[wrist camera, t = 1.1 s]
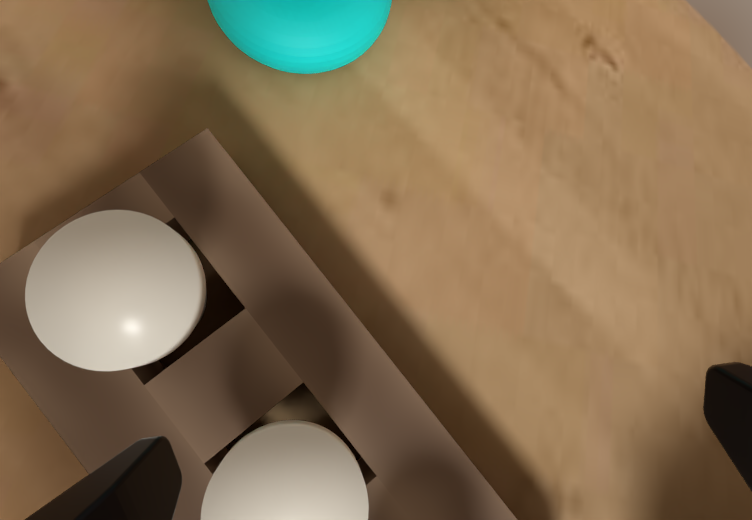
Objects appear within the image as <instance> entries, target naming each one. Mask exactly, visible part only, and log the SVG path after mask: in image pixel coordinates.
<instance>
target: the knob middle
mask: <svg viewBox="0 0 752 520" xmlns="http://www.w3.org/2000/svg"><path fill="white" fill-rule="evenodd" d="M368 511H369V504H368V494H367V489H366V484H365V481H364V479H363V476H362V473H361V470H360V467H359V465H358V462H357V460H356V458H355V456H354V455H353V453H352V452H351V450H350V449H349V447H348V446H347V445H346V444H345V443H344V442H343V440H342V439H340V438H339V437H338V436H337V435H336V434H335V433H333V432H331V431H330V430H328V429H327V428H325V427H322V426H320V425H318V424H315V423H312V422H308V421H302V420H283V421H277V422H273V423H269V424H266V425H264V426H261V427H259V428H257V429H255V430H253V431H252V432H250V433H248V434H247V435H246V436H244V437H243V438H241V439H240V440H239V441H238V442H237V443H236V444H235V445H234V446H233V447H232V448H231V450H230V451H229V452H228V453H227V454H226V456H225V457H224V459H223V460H222V462H221V463H220V464H219V466H218V468H217V469H216V471H215V472H214V474H213V476H212V478H211V480H210V482H209V484H208V486H207V489H206V492H205V495H204V499H203V503H202V509H201V520H368Z"/></svg>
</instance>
